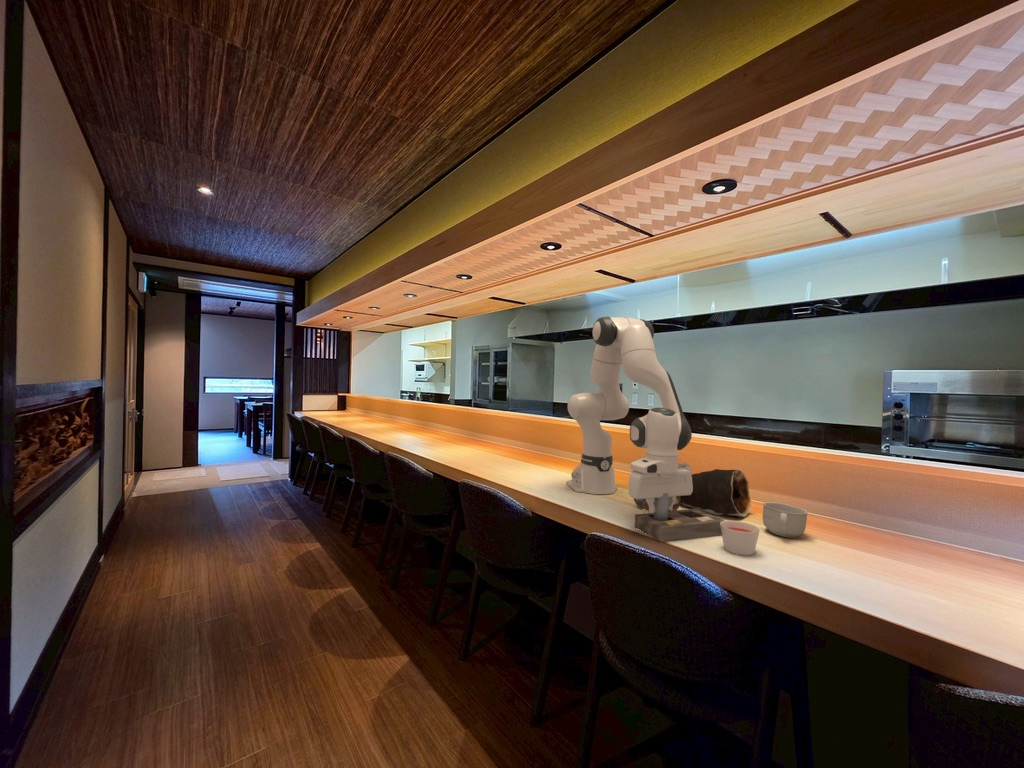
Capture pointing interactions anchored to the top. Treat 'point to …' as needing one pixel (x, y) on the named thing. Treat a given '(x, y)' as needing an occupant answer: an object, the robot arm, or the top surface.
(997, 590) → the top surface
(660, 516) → the plug
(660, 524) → the socket block
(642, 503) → the tin
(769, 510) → the teacup
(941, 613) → the top surface
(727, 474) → the clay pot
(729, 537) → the candle
